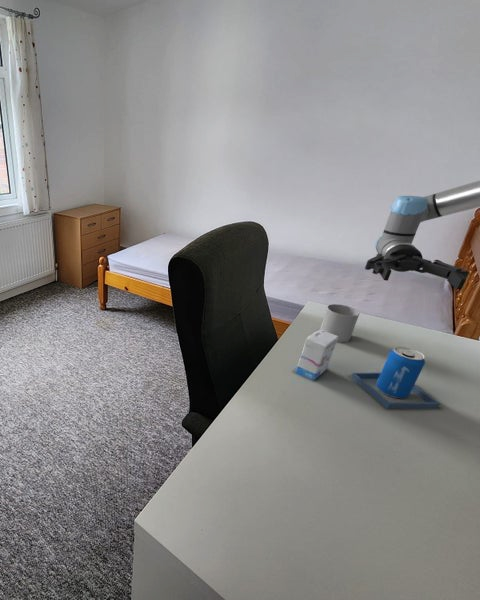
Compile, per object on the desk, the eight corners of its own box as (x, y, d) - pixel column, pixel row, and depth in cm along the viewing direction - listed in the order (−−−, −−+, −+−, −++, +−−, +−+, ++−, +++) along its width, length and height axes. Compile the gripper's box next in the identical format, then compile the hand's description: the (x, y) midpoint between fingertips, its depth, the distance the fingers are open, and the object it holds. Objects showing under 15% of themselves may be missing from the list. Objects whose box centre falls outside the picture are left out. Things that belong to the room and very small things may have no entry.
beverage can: (373, 392, 87) (389, 353, 82) (377, 380, 91) (393, 342, 86) (406, 404, 83) (426, 363, 78) (409, 391, 87) (428, 352, 82)
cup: (324, 341, 110) (333, 314, 106) (314, 329, 117) (322, 303, 113) (354, 344, 108) (364, 317, 104) (342, 331, 115) (352, 305, 111)
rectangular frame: (394, 378, 93) (397, 372, 92) (437, 410, 82) (440, 403, 81) (349, 378, 93) (352, 372, 92) (385, 410, 82) (388, 404, 81)
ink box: (313, 382, 92) (326, 345, 87) (294, 373, 95) (305, 337, 90) (327, 371, 96) (339, 335, 91) (307, 362, 100) (318, 327, 95)
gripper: (453, 274, 96) (487, 303, 79) (345, 262, 107) (355, 285, 90) (465, 249, 92) (504, 273, 76) (352, 239, 104) (364, 258, 87)
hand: (423, 279), depth 83 cm, fingers open, 13 cm apart
